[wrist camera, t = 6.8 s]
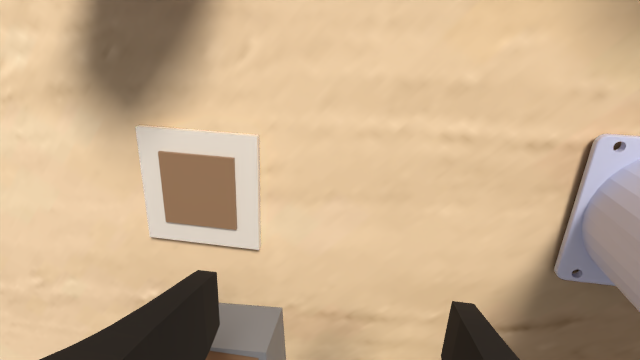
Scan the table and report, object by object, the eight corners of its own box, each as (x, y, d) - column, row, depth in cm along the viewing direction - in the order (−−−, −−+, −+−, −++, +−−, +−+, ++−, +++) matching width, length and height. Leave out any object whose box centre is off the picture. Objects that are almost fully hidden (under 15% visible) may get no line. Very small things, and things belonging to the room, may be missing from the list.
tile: (259, 134, 21) (255, 137, 21) (260, 246, 24) (257, 251, 23) (139, 125, 22) (133, 127, 22) (153, 233, 25) (148, 238, 24)
